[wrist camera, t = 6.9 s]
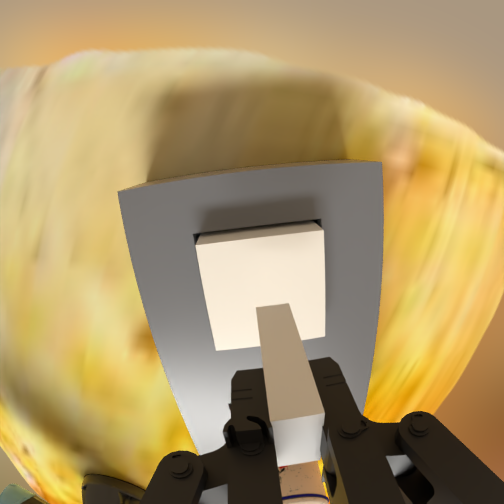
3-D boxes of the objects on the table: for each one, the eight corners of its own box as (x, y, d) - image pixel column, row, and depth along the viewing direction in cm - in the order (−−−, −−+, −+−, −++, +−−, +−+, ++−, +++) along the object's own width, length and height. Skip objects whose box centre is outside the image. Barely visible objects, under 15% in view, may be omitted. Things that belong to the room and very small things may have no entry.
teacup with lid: (275, 437, 32) (286, 515, 21) (329, 448, 34) (348, 514, 23) (232, 475, 35) (233, 539, 24) (282, 483, 37) (291, 541, 26)
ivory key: (218, 318, 22) (216, 350, 18) (203, 227, 20) (195, 245, 16) (311, 307, 22) (325, 336, 18) (307, 215, 20) (323, 230, 16)
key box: (208, 427, 31) (205, 467, 25) (146, 182, 22) (117, 191, 16) (341, 410, 31) (354, 447, 25) (347, 159, 22) (381, 161, 16)
